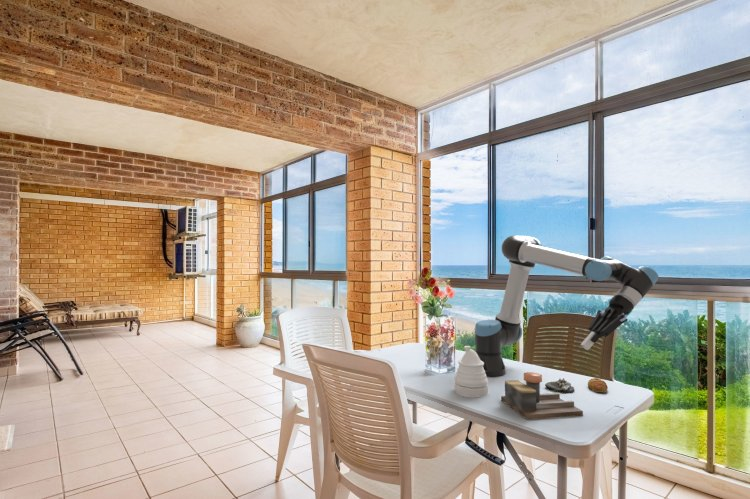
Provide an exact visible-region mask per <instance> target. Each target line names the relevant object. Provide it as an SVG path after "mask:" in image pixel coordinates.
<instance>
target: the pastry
mask: <svg viewBox="0 0 750 499" xmlns="http://www.w3.org/2000/svg"><path fill="white" fill-rule="evenodd" d="M587 387H588V388H589V389H590V390H591V391H593V392H595V393H605V394H606V392H607V391H608V385H607V383H606V382H605V381H604V380H602V379H600V378H598V377H593V378H590V379H589V380H588V382H587Z"/></svg>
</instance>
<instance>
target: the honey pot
mask: <svg viewBox="0 0 750 499" xmlns="http://www.w3.org/2000/svg"><path fill="white" fill-rule="evenodd" d="M471 347H472V346H470V345H465V346H463V349H464V351H465V352H464V354H463V356H462V358H461V359H460V360H458V362H457V363H458V367H457V369H456V370H457V372H456V373H455V376H454V393H455V394H457V395H458V396H459V395H460V396H462V397H466V398H485V397H486V396H488V395H489V379H488V376H486V374H485V370H484V368H483V365H484V362H483V361H481V360H480V358H479V356H478V355H477V353H476V352H475V350H474V349H472V348H471Z"/></svg>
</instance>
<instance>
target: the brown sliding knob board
mask: <svg viewBox="0 0 750 499" xmlns="http://www.w3.org/2000/svg"><path fill="white" fill-rule="evenodd" d="M560 394H561V393H558V392H551V393H550V392H549V393H547V392H546V393H540V401H541V402H542V403H536V390H534V389H532V388H531V387H529V386H527V385H526V383H524V382H522V381H521V380H518V379H512V380H504V395H502V396H500V397H501V398H500V401H502V402H503V403H505V405H507V406H508V407H510V408H511V409H512V410H514V411H515V412H517V413H518V414H519V415H521V416H522V417H523V418H525V419H526V420H528V421H529V420H539V419H551V418H552V419H554V418H563V417H564V418H567V417H581V416H584V411H583V410H582V409H580V408H578V407H576V406H575V401H573V400H565V399H561V398H560V397H561V396H560Z"/></svg>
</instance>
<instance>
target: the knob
mask: <svg viewBox="0 0 750 499" xmlns="http://www.w3.org/2000/svg"><path fill="white" fill-rule="evenodd" d="M523 381H524V382H525V385H527V386H529V387H531V388H532V389H534V390H536V403H542V402H541V401H540V394H541V393H540V392H541V383H542V382H543V375H542V373H539V372H534V371H533V372H531V371H527V372H524V373H523Z"/></svg>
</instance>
